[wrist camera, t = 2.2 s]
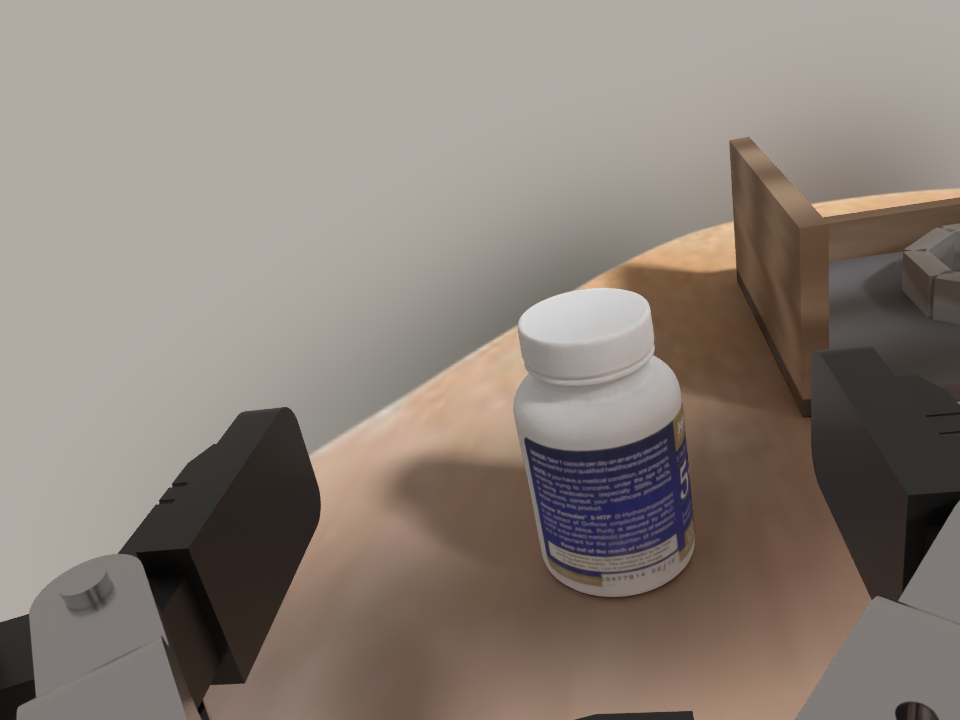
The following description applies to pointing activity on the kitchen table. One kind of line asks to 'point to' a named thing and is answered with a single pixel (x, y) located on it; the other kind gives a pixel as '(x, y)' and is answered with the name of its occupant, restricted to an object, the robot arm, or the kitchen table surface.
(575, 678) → the kitchen table surface
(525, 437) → the pill bottle
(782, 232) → the walled box
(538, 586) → the kitchen table surface
